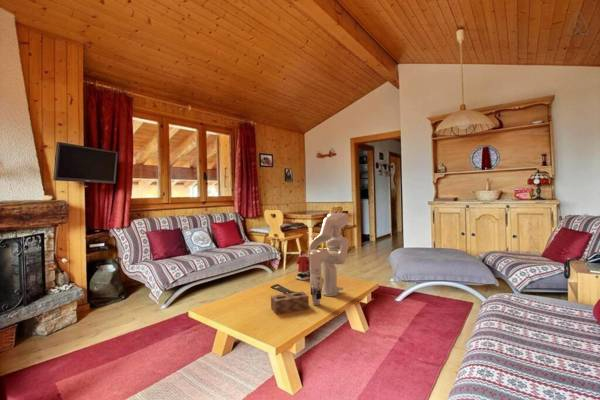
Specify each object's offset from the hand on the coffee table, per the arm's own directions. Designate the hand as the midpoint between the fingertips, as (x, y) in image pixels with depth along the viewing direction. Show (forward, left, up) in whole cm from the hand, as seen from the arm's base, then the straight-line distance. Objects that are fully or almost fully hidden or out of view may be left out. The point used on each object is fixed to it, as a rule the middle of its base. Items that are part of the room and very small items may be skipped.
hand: (315, 296), depth 199 cm
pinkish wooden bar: (0, 0, -5) cm, 5 cm away
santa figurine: (-16, -61, -6) cm, 63 cm away
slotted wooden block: (+18, -1, -5) cm, 19 cm away
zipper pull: (+14, -22, -6) cm, 26 cm away
